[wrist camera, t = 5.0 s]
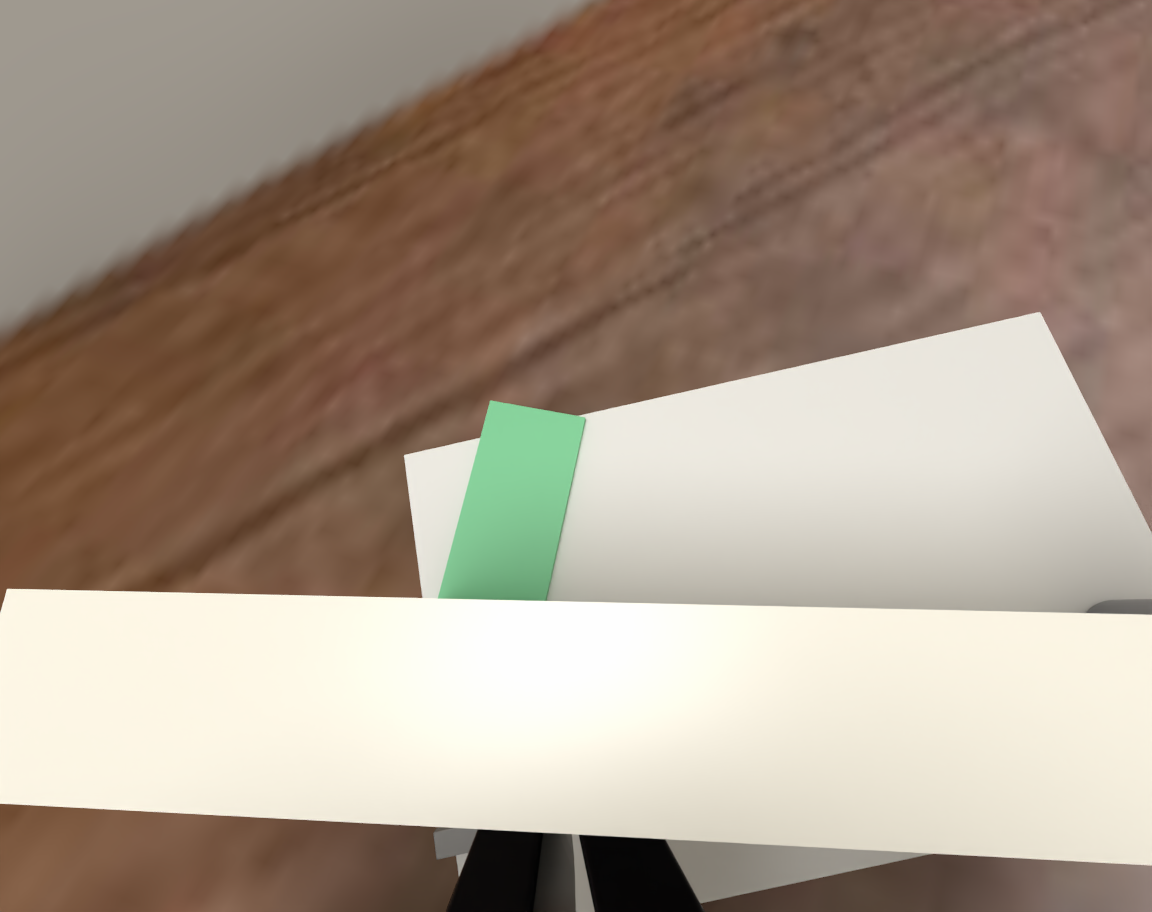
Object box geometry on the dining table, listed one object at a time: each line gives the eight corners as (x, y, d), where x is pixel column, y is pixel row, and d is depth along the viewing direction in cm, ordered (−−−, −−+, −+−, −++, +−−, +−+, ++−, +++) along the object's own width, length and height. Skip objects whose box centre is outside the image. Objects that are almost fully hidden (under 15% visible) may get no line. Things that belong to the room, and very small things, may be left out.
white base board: (1004, 300, 18) (1032, 277, 17) (1231, 768, 14) (1291, 783, 13) (399, 437, 18) (383, 424, 17) (463, 933, 14) (449, 964, 13)
